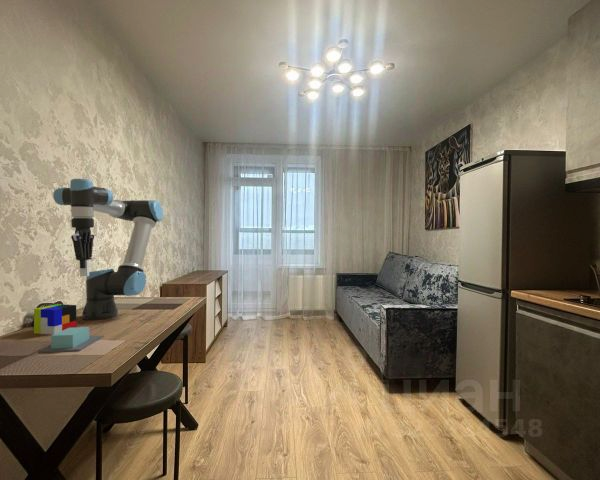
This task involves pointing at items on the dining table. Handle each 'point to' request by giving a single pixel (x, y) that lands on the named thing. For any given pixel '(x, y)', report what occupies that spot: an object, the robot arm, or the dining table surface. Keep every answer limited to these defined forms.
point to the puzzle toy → (54, 318)
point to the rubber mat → (77, 348)
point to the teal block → (69, 337)
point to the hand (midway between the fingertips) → (84, 275)
